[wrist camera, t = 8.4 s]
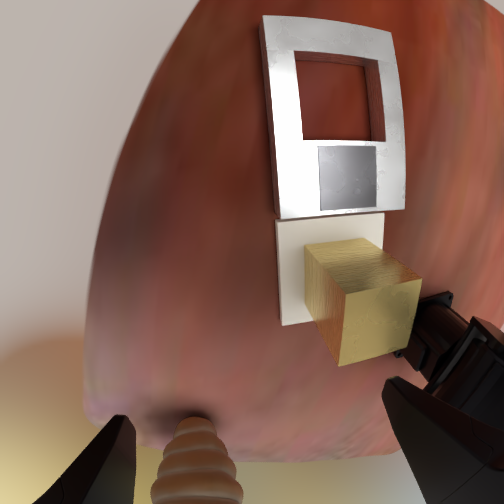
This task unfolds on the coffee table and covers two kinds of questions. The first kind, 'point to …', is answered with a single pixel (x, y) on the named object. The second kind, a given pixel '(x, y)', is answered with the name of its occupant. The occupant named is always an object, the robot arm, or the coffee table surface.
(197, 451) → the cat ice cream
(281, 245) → the coaster
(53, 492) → the robot arm
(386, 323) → the brass metal cube
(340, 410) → the coffee table surface
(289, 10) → the coffee table surface
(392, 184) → the white flat frame
